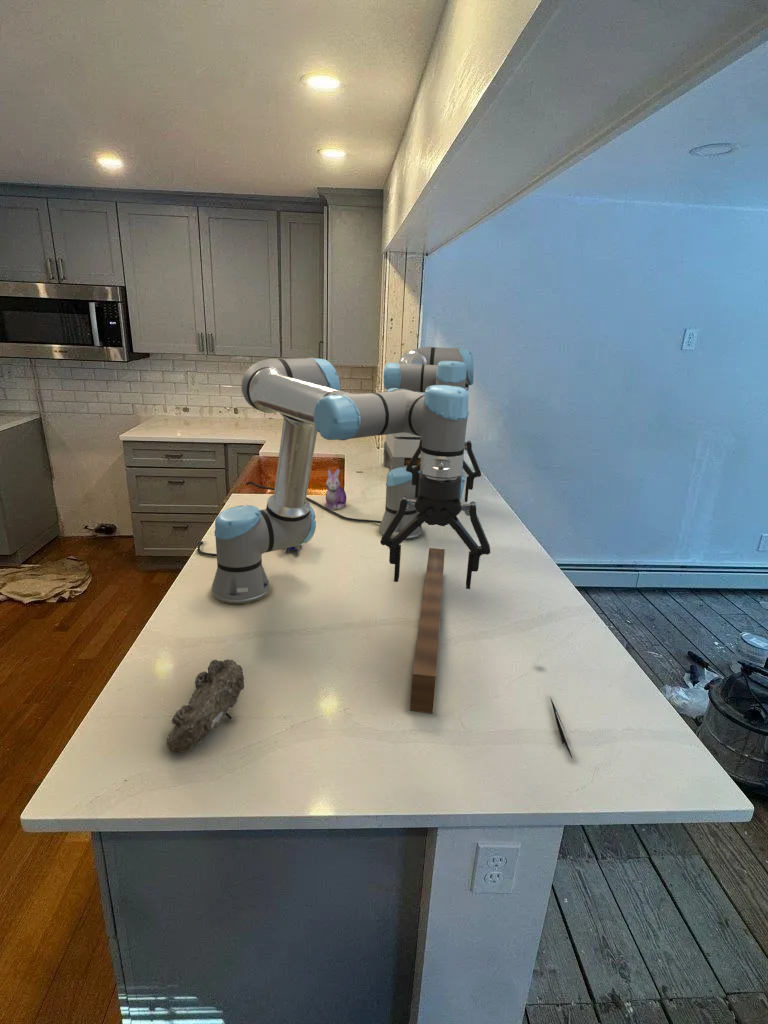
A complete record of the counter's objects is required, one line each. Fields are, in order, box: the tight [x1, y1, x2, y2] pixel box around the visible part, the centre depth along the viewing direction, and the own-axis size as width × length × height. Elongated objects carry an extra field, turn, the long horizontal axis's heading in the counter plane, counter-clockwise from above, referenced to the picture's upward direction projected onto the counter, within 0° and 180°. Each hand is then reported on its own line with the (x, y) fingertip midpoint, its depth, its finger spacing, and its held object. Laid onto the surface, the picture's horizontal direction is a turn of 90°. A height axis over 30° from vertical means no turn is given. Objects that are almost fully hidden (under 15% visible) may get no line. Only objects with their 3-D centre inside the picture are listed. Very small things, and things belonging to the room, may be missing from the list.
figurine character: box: [284, 544, 302, 554], centre depth 184 cm, size 7×8×15 cm
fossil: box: [166, 658, 245, 754], centre depth 106 cm, size 22×10×15 cm
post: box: [409, 547, 446, 714], centre depth 140 cm, size 62×5×9 cm, turn 173°
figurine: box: [325, 468, 347, 510], centre depth 222 cm, size 9×10×15 cm
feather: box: [539, 666, 573, 758], centre depth 114 cm, size 2×28×2 cm
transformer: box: [383, 433, 422, 472], centre depth 268 cm, size 34×33×41 cm
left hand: (432, 582), depth 108 cm, fingers open, 13 cm apart
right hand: (441, 498), depth 156 cm, fingers open, 13 cm apart
